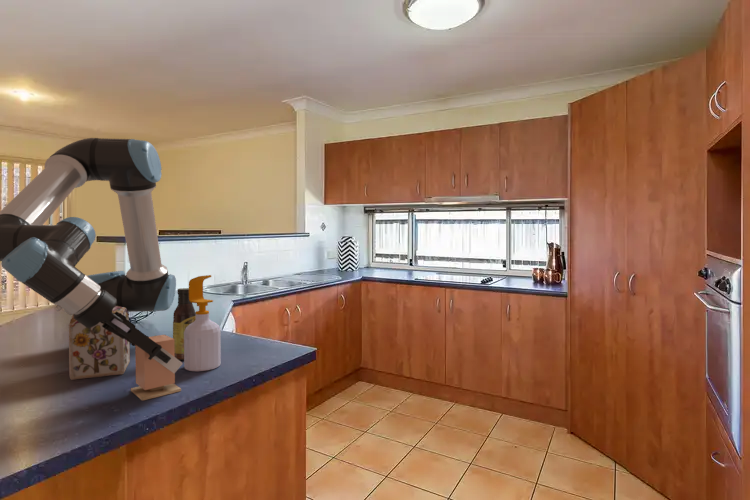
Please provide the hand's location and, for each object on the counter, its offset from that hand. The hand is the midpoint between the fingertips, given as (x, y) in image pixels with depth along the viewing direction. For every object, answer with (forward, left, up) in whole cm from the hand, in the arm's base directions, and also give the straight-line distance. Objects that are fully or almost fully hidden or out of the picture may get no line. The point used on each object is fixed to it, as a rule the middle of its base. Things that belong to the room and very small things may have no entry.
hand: (172, 364), depth 98 cm
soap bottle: (-10, +11, -6) cm, 16 cm away
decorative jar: (-25, -9, -6) cm, 27 cm away
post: (0, -4, -5) cm, 6 cm away
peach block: (0, -4, -3) cm, 5 cm away
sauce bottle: (-22, +11, -6) cm, 25 cm away
